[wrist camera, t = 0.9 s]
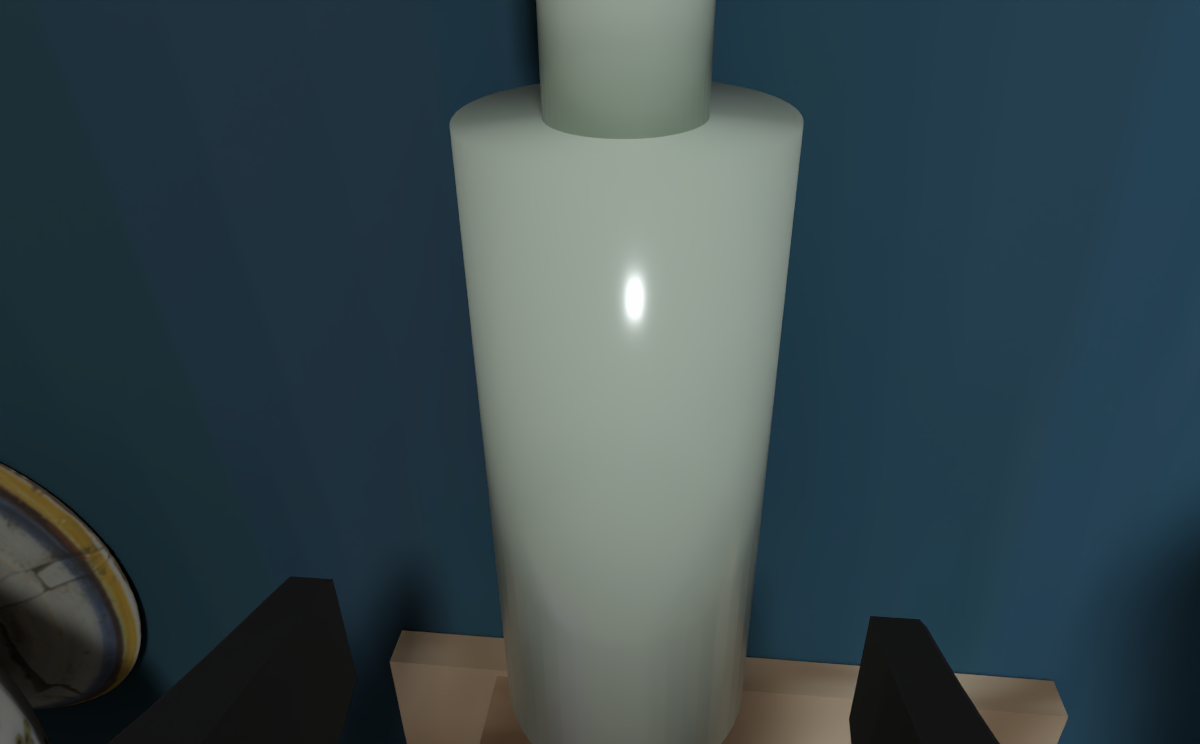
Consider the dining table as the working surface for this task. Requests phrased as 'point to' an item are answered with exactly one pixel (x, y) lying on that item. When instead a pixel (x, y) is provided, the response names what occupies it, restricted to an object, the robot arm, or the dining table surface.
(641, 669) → the bottle
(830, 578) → the dining table surface
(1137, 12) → the dining table surface
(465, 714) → the bottle rest
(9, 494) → the apothecary jar
